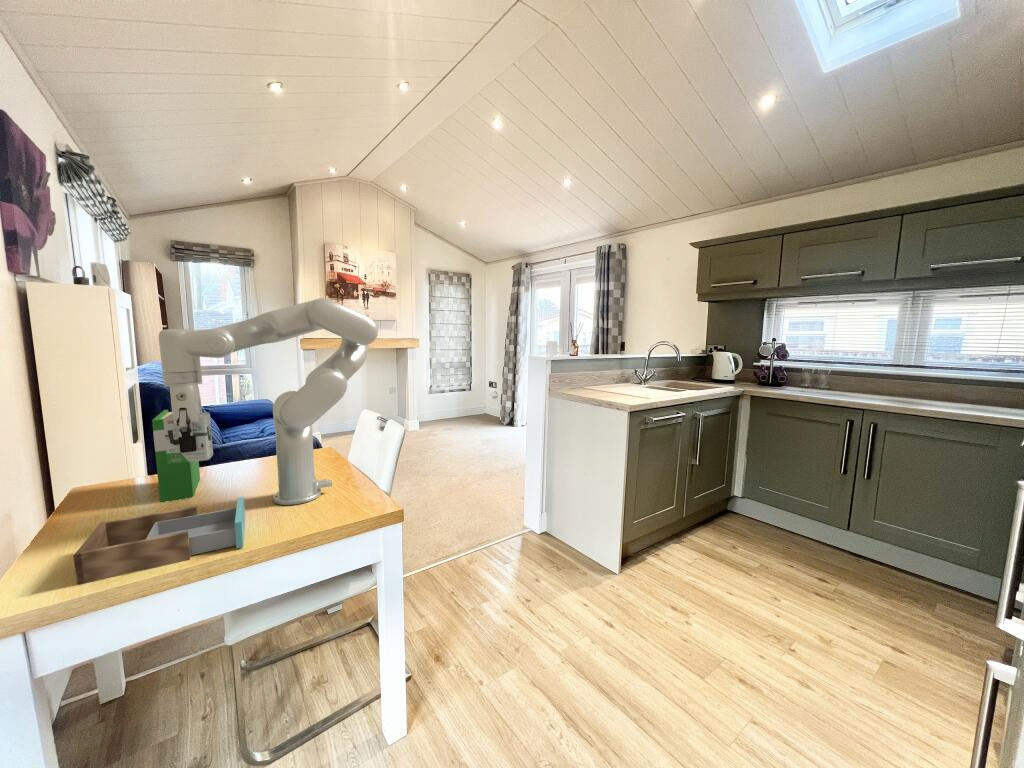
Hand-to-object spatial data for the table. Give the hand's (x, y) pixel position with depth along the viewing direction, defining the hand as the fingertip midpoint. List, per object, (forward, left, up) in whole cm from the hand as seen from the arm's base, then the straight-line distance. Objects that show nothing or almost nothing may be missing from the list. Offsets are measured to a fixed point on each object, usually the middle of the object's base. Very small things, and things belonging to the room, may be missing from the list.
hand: (190, 448), depth 103 cm
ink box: (0, 0, -3) cm, 3 cm away
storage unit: (+6, +16, -19) cm, 25 cm away
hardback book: (+6, -26, -19) cm, 33 cm away
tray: (-2, +16, -19) cm, 25 cm away
